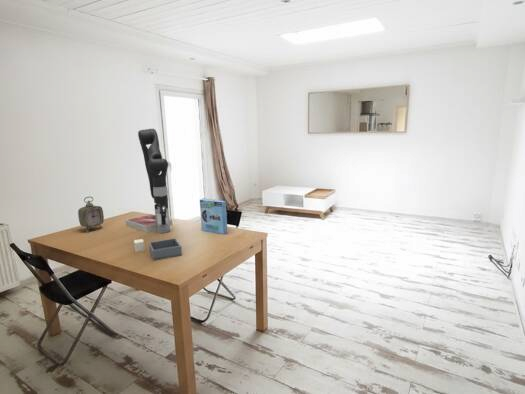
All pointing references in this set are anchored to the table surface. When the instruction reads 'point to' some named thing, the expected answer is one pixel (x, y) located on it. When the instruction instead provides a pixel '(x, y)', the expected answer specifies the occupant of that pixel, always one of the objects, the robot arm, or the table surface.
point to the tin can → (160, 220)
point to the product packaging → (144, 223)
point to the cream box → (139, 245)
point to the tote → (165, 249)
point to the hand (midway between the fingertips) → (162, 223)
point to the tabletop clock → (90, 215)
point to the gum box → (213, 215)
